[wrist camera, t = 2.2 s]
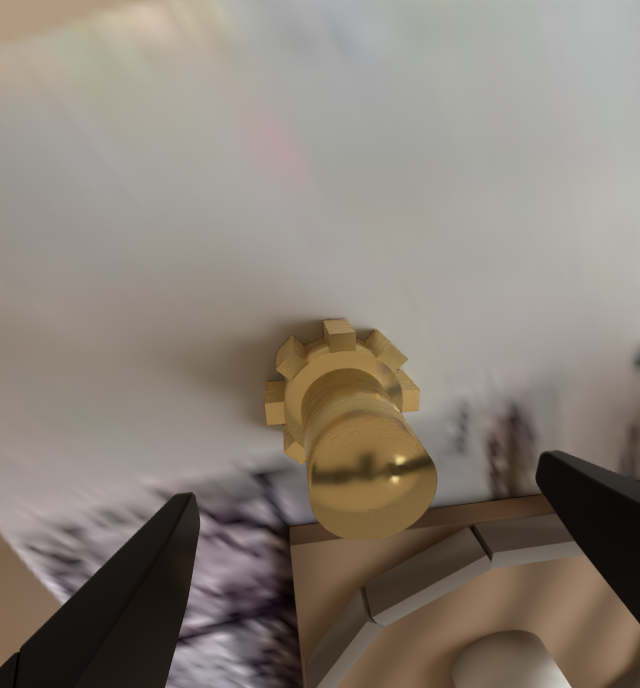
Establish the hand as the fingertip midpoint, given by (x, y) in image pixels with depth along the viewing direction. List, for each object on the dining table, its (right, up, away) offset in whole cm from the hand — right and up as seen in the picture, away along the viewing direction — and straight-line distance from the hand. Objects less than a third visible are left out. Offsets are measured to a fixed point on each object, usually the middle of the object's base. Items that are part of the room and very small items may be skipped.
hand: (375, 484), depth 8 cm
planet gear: (-1, +2, +5) cm, 6 cm away
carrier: (+10, -16, +13) cm, 22 cm away
